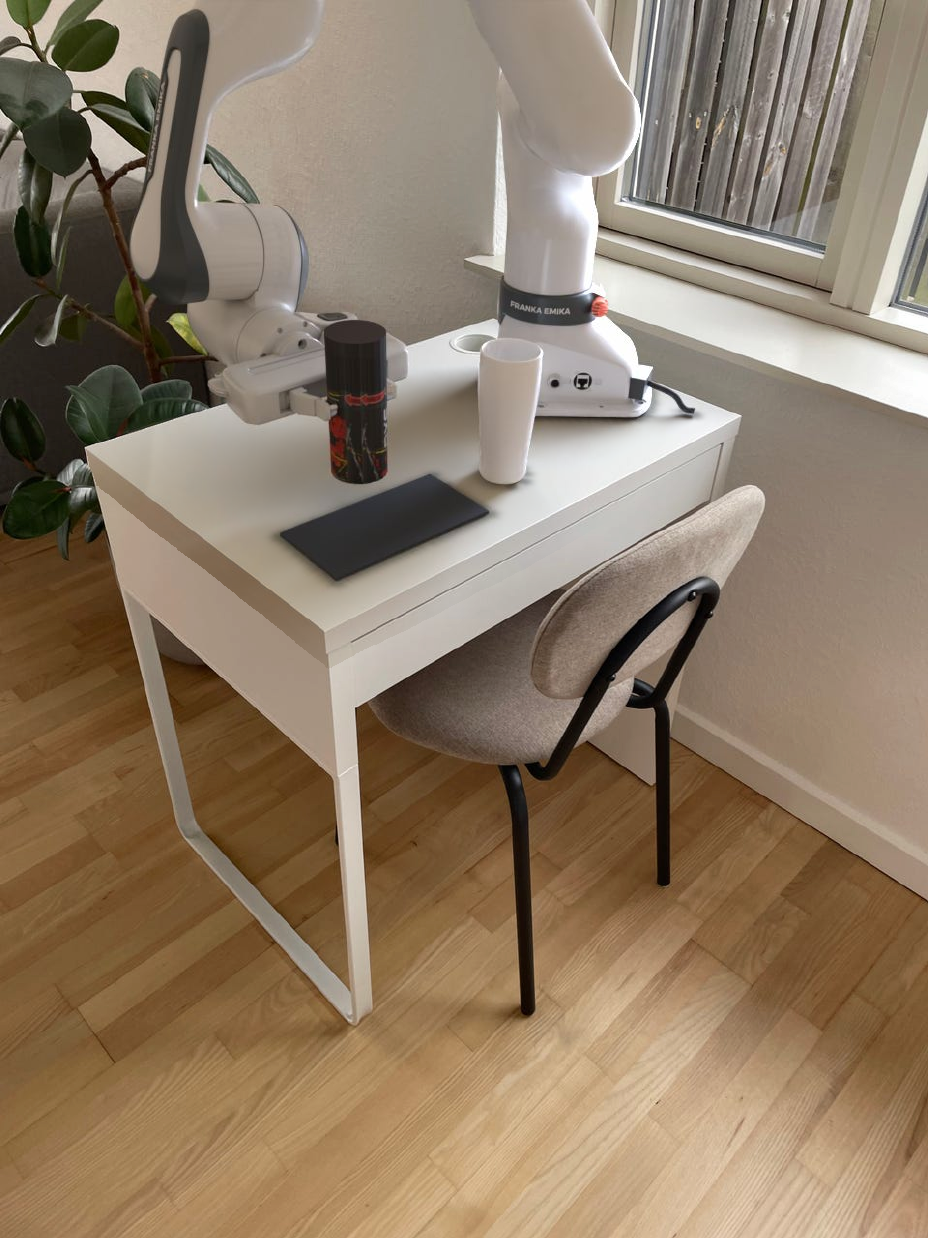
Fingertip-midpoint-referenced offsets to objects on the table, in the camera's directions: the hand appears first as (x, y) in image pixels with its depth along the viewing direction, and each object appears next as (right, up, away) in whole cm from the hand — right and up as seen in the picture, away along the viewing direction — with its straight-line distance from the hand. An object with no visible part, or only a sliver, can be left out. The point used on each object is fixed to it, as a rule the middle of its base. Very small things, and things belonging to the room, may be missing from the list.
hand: (362, 402), depth 93 cm
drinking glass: (+14, -5, +15) cm, 21 cm away
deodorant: (-1, -6, +6) cm, 8 cm away
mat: (+2, -12, +6) cm, 13 cm away
